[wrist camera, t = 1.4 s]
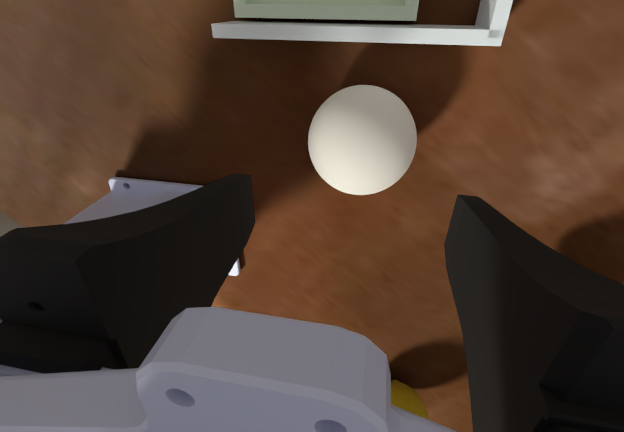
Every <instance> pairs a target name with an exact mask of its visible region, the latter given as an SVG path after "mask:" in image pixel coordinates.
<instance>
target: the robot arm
mask: <svg viewBox="0 0 624 432" xmlns="http://www.w3.org/2000/svg"><path fill="white" fill-rule="evenodd" d="M127 184H128V185H129V186H130V187H129V186H128V185H127ZM109 186H110V189H111V192H109V193H108V194H107V195H105V196H104V197H102V198H101V199H99V200H98V201H96V202H95V203H93V204H92V205H90V206H89V207H87V208H86V209H85V210H83V211H82V212H80V213H79V214H77V215H76V216H74V217H73V218H71V219H70V220H68V221H67V222H65V223H64V224H61V225H50V226H39V227H28V228H16V229H13V230H11V231H9V232H8V233H6V234H4V235H3V236H1V237H0V432H457V431H455V430H452V429H450V428H448V427H445V426H443V425H440V424H438V423H435V422H433V421H430V420H428V419H426V418H423V417H421V416H418V415H416V414H413V413H411V412H408V411H406V410H403V409H401V408H399V407H396V406H394V405H391V374H390V369H389V364H388V360H387V355H386V354H385V353H384V352H382V351H381V350H380V349H379V348H378V347H377V346H376V345H375V344H374V343H372V342H371V341H370V340H369V339H368V338H367V337H365V336H364V335H361V334H358V333H356V332H353V331H350V330H347V329H344V328H341V327H338V326H333V325H327V324H320V323H314V322H308V321H302V320H295V319H289V318H283V317H276V316H270V315H264V314H257V313H251V312H245V311H239V310H232V309H226V308H220V307H211V305H212V303H213V301H214V299H215V297H216V295H217V293H218V291H219V289H220V287H221V286H222V284H223V282H224V281H225V279H226V277H227V276H228V275H232V276H237V275H238V274H239V273H240V263H239V256H240V254H241V252H242V251H243V249H244V247H245V246H246V244H247V242H248V239H249V237H250V235H251V232H252V229H253V227H254V224H255V216H254V205H253V195H252V184H251V175H243V174H232V175H229V176H226V177H224V178H221V179H219V180H216V181H214V182H212V183H210V184H207V185H205V186H202V185H192V184H182V183H172V182H162V181H152V180H143V179H133V178H123V177H113V178H111V179H110V180H109ZM444 246H445V258H446V268H447V272H448V277H449V281H450V285H451V289H452V293H453V296H454V300H455V304H456V308H457V312H458V316H459V320H460V324H461V329H462V334H463V340H464V347H465V355H466V362H467V371H468V380H469V390H470V400H471V412H472V423H473V432H624V285H623V284H621V283H618V282H616V281H614V280H611V279H609V278H607V277H605V276H603V275H601V274H598V273H596V272H594V271H592V270H590V269H588V268H586V267H584V266H582V265H580V264H578V263H576V262H574V261H572V260H571V259H569V258H567V257H565V256H563V255H562V254H560V253H558V252H556V251H554V250H553V249H551V248H549V247H548V246H546V245H545V244H543V243H541V242H540V241H538V240H537V239H535V238H534V237H532V236H531V235H529V234H528V233H526V232H525V231H524V230H522V229H521V228H519V227H518V226H517V225H515V224H514V223H513V222H511V221H510V220H509V219H507V218H506V217H505V216H503V215H502V214H501V213H500V212H498V211H497V210H496V209H494V208H493V207H492V206H490V205H489V204H488V203H486V202H485V201H484V200H482V199H481V198H479V197H477V196H467V195H457V199H456V203H455V206H454V210H453V214H452V218H451V221H450V225H449V229H448V233H447V237H446V240H445V244H444Z"/></svg>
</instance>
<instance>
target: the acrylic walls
mask: <svg viewBox="0 0 624 432" xmlns="http://www.w3.org/2000/svg"><path fill="white" fill-rule="evenodd" d="M512 2H513V0H481V1H480V5H479V10H478V14H477V18H476V23H475V26H472V25H423V24H373V23H324V22H274V21H229V22H221V23H213V24H211V26H212V34H213V38H234V39H268V40H303V41H338V42H373V43H408V44H442V45H477V46H501V43H502V39H503V36H504V32H505V28H506V25H507V21H508V17H509V14H510V10H511V6H512Z"/></svg>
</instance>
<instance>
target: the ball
mask: <svg viewBox="0 0 624 432" xmlns="http://www.w3.org/2000/svg"><path fill="white" fill-rule="evenodd" d="M416 143H417V132H416V126H415V123H414V120H413V117H412V115H411V113H410V111H409V109H408V108H407V106H406V105H405V104H404V103H403V101H402V100H401V99H400V98H398V97H397V96H396V95H395V94H393V93H391V92H390V91H388V90H386V89H383V88H381V87H377V86H372V85H356V86H351V87H347V88H344V89H342V90H340V91H338V92H336V93H335V94H333V95H332V96H330V97H329V98H328V99H327V100H326V101H325V102H324V103H323V104H322V105H321V106H320V107H319V109H318V110H317V112H316V114H315V116H314V117H313V120H312V122H311V125H310V129H309V134H308V149H309V154H310V158H311V161H312V163H313V165H314V167H315V169H316V171H317V172H318V174H319V175H320V176H321V177H322V179H324V180H325V181H326V182H327V183H328V184H329V185H331V186H332V187H334V188H336V189H337V190H340V191H342V192H345V193H348V194H354V195H368V194H373V193H377V192H380V191H382V190H384V189H387V188H388V187H390V186H392V185H393V184H394V183H395V182H397V181H398V180H399V179H400V178H401V177H402V176H403V175H404V173H405V172H406V171H407V169H408V168H409V166H410V164H411V162H412V159H413V157H414V154H415V150H416Z"/></svg>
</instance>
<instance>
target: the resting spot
mask: <svg viewBox="0 0 624 432" xmlns="http://www.w3.org/2000/svg"><path fill="white" fill-rule="evenodd" d="M233 2H234V12H235V18H289V19H342V20H396V21H416V18H417V12H418V5H419V0H233Z"/></svg>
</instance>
